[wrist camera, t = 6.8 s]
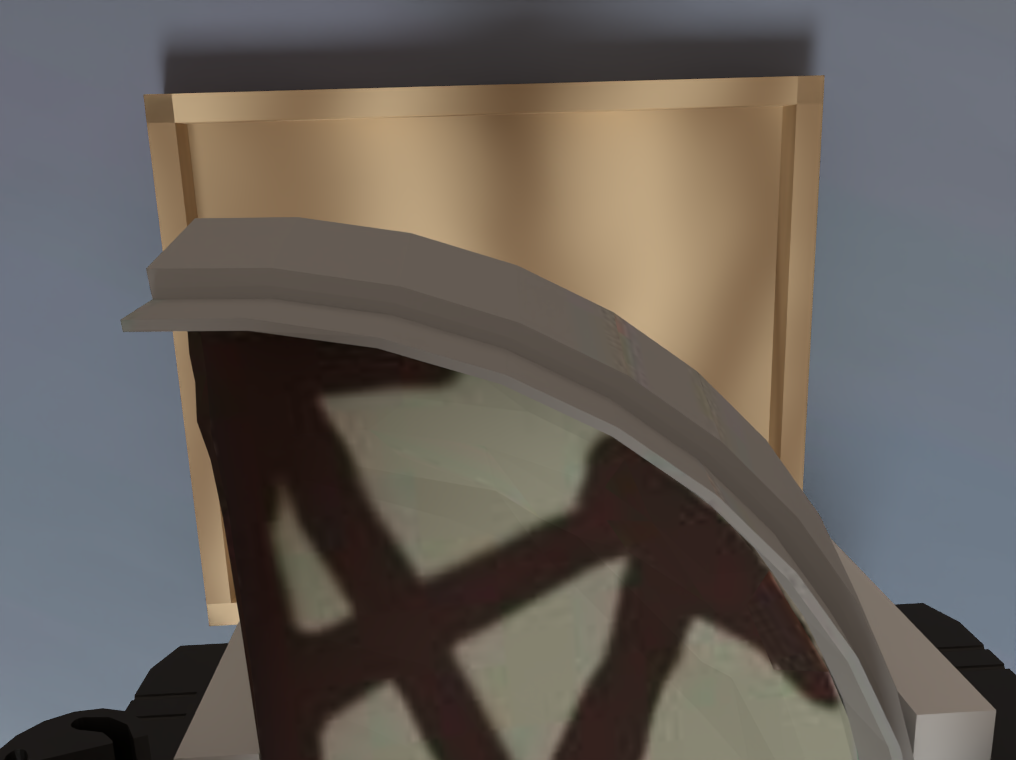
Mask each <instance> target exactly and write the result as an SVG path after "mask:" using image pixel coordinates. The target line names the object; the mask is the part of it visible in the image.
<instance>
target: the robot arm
mask: <svg viewBox="0 0 1016 760" xmlns="http://www.w3.org/2000/svg"><path fill="white" fill-rule="evenodd" d="M830 539H831V538H830ZM831 541H832V543H833V545H834V547H835V549H836V551H837V553H838V556H839V558H840V560H841V562H842V564H843V566H844V568H845V571H846V573H847V575H848V577H849V579H850V581H851V583H852V585H853V588H854V590H855V592H856V594H857V596H858V599H859V601H860V603H861V606H862V608H863V610H864V613H865V615H866V618H867V620H868V622H869V625H870V627H871V629H872V632H873V634H874V636H875V639H876V641H877V644H878V646H879V648H880V651H881V653H882V655H883V658H884V660H885V662H886V665H887V667H888V670H889V672H890V674H891V677H892V679H893V681H894V684H895V686H896V689H897V693H898V697H899V701H900V705H901V709H902V713H903V717H904V721H905V725H906V729H907V733H908V737H909V741H910V745H911V749H912V753H913V757H914V760H1016V675H1015V674H1014V673H1013V672H1012V671H1011V670H1010V669H1005V667H1004V663H1003V662H1001V661H1000V660H999V659H998V658H997V657H996V656H995V655H994V654H993V653H992V652H991V651H990V650H989V649H986V650H985V649H984V645H983V644H982V643H981V642H980V641H979V640H978V639H977V638H976V637H975V636H974V635H973V634H972V633H971V632H969V631H968V630H967V629H966V628H965V627H964V626H963V625H962V624H961V623H960V622H958V621H956V620H955V619H953V618H951V617H949V616H947V615H945V614H943V613H941V612H939V611H937V610H935V609H933V608H931V607H930V606H928V605H926V604H924V603H916V604H898V605H894V604H893V603H892V602H891V601H890V600H889V599H888V597H887V596H886V595H885V594H884V593H883V592H882V591H881V590H880V589H879V588H878V587H877V586H876V585H875V584H874V583H873V582H872V581H871V580H870V579H869V578H868V577H867V576H866V575H865V574H864V573H863V572H862V571H861V570H860V568H859V567H858V566H857V565H856V564H855V563H854V562H853V561H852V560H851V559H850V558H849V557H848V556H847V555H846V554H845V553H844V552H843V551H842V550H841V549H840V548H839V547H838V546H837V545H836V544H835V543H834V542H833V540H832V539H831ZM0 760H261V757H260V750H259V744H258V737H257V730H256V724H255V717H254V710H253V704H252V697H251V691H250V684H249V677H248V671H247V664H246V657H245V651H244V644H243V638H242V632H241V626H240V620H239V623H238V625H237V627H236V629H235V631H234V633H233V635H232V637H231V639H230V641H229V643H224V644H205V645H187V646H180V647H178V648H177V649H176V650H174V651H173V652H172V653H171V654H169V655H168V656H167V657H165V658H164V659H163V660H162V661H160V662H159V663H158V664H156V665H155V666H154V667H153V668H151V669H150V671H149V672H148V674H147V676H146V677H145V679H144V681H143V682H142V684H141V686H140V687H139V689H138V691H137V692H136V694H135V699H134V700H132V701H131V702H130V704H129V706H128V707H127V709H126V710H125V711H120V710H112V709H104V708H102V709H94V710H85V711H77V712H72V713H69V714H66V715H62V716H59V717H56V718H53V719H50V720H46V721H44V722H42V723H40V724H38V725H36V726H34V727H32V728H30V729H28V730H26V731H24V732H22V733H21V734H19V735H17V736H15V737H14V738H13V739H12V740H10V741H9V742H8V743H7V744H6V745H4V746H3V747H2V748H1V749H0Z"/></svg>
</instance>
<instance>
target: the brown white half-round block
mask: <svg viewBox="0 0 1016 760" xmlns="http://www.w3.org/2000/svg"><path fill="white" fill-rule="evenodd" d="M146 270H147V275H148V280H149V284H150V289H151V294H152V298H153V300H151V301H149V302H148V303H146V304H145V305H143V306H142V307H140V308H138V309H137V310H135V311H134V312H132V313H130V314H129V315H127V316H126V317H124V318H123V319H121V325H122V330H123V332H152V331H187V332H188V345H189V355H190V360H191V365H192V370H193V375H194V379H195V392H196V414H197V423H198V426H199V429H200V432H201V435H202V437H203V440H204V443H205V446H206V449H207V451H208V454H209V457H210V460H211V465H212V469H213V474H214V479H215V483H216V488H217V493H218V497H219V502H220V507H221V511H222V516H223V522H224V528H225V534H226V540H227V546H228V552H229V558H230V564H231V571H232V577H233V583H234V589H235V595H236V601H237V607H238V613H239V619H240V626H241V632H242V638H243V644H244V651H245V657H246V664H247V671H248V677H249V684H250V691H251V697H252V704H253V710H254V717H255V724H256V730H257V737H258V744H259V750H260V757H261V760H914V757H913V753H912V749H911V745H910V741H909V737H908V733H907V729H906V725H905V721H904V717H903V713H902V709H901V705H900V701H899V697H898V693H897V689H896V686H895V684H894V681H893V679H892V677H891V674H890V672H889V670H888V667H887V665H886V662H885V660H884V658H883V655H882V653H881V651H880V648H879V646H878V644H877V641H876V639H875V636H874V634H873V632H872V629H871V627H870V625H869V622H868V620H867V618H866V615H865V613H864V610H863V608H862V606H861V603H860V601H859V599H858V596H857V594H856V592H855V590H854V588H853V585H852V583H851V581H850V579H849V577H848V575H847V573H846V571H845V568H844V566H843V564H842V562H841V560H840V558H839V556H838V553H837V551H836V549H835V547H834V545H833V543H832V541H831V539H830V536H829V534H828V532H827V530H826V528H825V526H824V524H823V522H822V519H821V517H820V515H819V514H818V512H817V511H816V509H815V508H814V507H813V505H812V504H811V502H810V501H809V500H808V498H807V497H806V495H805V494H804V493H803V491H802V490H801V488H800V487H799V485H798V484H797V483H796V481H795V480H794V478H793V477H792V476H791V474H790V473H789V471H788V470H787V469H786V467H785V466H784V464H783V463H782V462H781V460H780V459H779V457H778V456H777V454H776V453H775V452H774V450H773V449H772V447H771V446H770V445H769V443H768V442H767V440H766V439H765V438H764V437H763V436H762V435H761V434H760V433H759V432H758V431H757V430H756V429H755V428H754V427H753V426H752V425H751V424H750V423H749V422H748V421H747V420H746V419H745V418H744V417H743V416H742V415H741V414H740V413H739V412H738V411H737V410H736V409H735V408H734V407H733V406H732V405H731V404H730V403H729V402H728V401H727V400H726V399H725V398H724V397H723V396H722V395H721V394H720V393H718V392H717V391H716V390H715V389H714V388H713V387H712V386H711V385H710V384H709V383H708V382H707V381H706V380H705V379H704V378H703V377H702V376H701V375H700V374H699V373H698V372H697V371H696V370H695V369H693V368H692V367H690V366H689V365H688V364H686V363H685V362H683V361H682V360H680V359H679V358H678V357H676V356H675V355H673V354H672V353H671V352H669V351H668V350H666V349H665V348H663V347H662V346H661V345H659V344H658V343H656V342H655V341H654V340H652V339H651V338H649V337H648V336H646V335H645V334H644V333H642V332H641V331H639V330H638V329H637V328H635V327H634V326H632V325H631V324H629V323H628V322H627V321H625V320H624V319H622V318H621V317H620V316H618V315H617V314H615V313H614V312H612V311H610V310H608V309H606V308H604V307H602V306H600V305H598V304H596V303H594V302H592V301H589V300H587V299H585V298H583V297H581V296H579V295H577V294H575V293H573V292H571V291H569V290H567V289H565V288H563V287H561V286H559V285H557V284H555V283H552V282H550V281H548V280H546V279H544V278H542V277H540V276H538V275H536V274H534V273H532V272H530V271H528V270H526V269H524V268H522V267H520V266H518V265H515V264H511V263H508V262H505V261H501V260H498V259H495V258H492V257H488V256H485V255H482V254H478V253H475V252H472V251H469V250H465V249H462V248H459V247H455V246H452V245H449V244H446V243H442V242H439V241H436V240H432V239H429V238H426V237H423V236H419V235H416V234H413V233H408V232H400V231H393V230H386V229H379V228H372V227H365V226H358V225H351V224H344V223H337V222H329V221H322V220H315V219H308V218H301V217H263V218H195V219H194V220H193V221H192V222H191V223H190V224H189V225H188V226H187V227H186V228H185V229H184V230H183V231H182V232H181V233H180V234H179V235H178V236H177V237H176V239H175V240H174V241H173V242H172V243H171V244H170V245H169V246H168V247H167V248H166V249H165V250H164V251H163V252H162V253H161V254H160V255H159V256H158V257H157V258H156V259H155V260H154V261H153V262H152V263H151V264H150V265H149V266H148V267H147V269H146Z"/></svg>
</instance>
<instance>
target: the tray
mask: <svg viewBox="0 0 1016 760" xmlns="http://www.w3.org/2000/svg"><path fill="white" fill-rule="evenodd" d="M823 94H824V75H821V76H785V77H750V78H714V79H679V80H643V81H608V82H572V83H537V84H501V85H466V86H430V87H395V88H359V89H324V90H288V91H253V92H217V93H182V94H146V95H144V103H145V111H146V119H147V127H148V136H149V144H150V152H151V160H152V168H153V176H154V184H155V192H156V200H157V208H158V216H159V224H160V232H161V240H162V248H163V251H164V250H165V249H166V248H167V247H168V246H169V245H170V244H171V243H172V242H173V241H174V240H175V239H176V237H177V236H178V235H179V234H180V233H181V232H182V231H183V230H184V229H185V228H186V227H187V226H188V225H189V224H190V223H191V222H192V221H193V220H194V219H195V218H263V217H301V218H308V219H315V220H322V221H329V222H337V223H344V224H351V225H358V226H365V227H372V228H379V229H386V230H393V231H400V232H408V233H413V234H416V235H419V236H423V237H426V238H429V239H432V240H436V241H439V242H442V243H446V244H449V245H452V246H455V247H459V248H462V249H465V250H469V251H472V252H475V253H478V254H482V255H485V256H488V257H492V258H495V259H498V260H501V261H505V262H508V263H511V264H515V265H518V266H520V267H522V268H524V269H526V270H528V271H530V272H532V273H534V274H536V275H538V276H540V277H542V278H544V279H546V280H548V281H550V282H552V283H555V284H557V285H559V286H561V287H563V288H565V289H567V290H569V291H571V292H573V293H575V294H577V295H579V296H581V297H583V298H585V299H587V300H589V301H592V302H594V303H596V304H598V305H600V306H602V307H604V308H606V309H608V310H610V311H612V312H614V313H615V314H617V315H618V316H620V317H621V318H622V319H624V320H625V321H627V322H628V323H629V324H631V325H632V326H634V327H635V328H637V329H638V330H639V331H641V332H642V333H644V334H645V335H646V336H648V337H649V338H651V339H652V340H654V341H655V342H656V343H658V344H659V345H661V346H662V347H663V348H665V349H666V350H668V351H669V352H671V353H672V354H673V355H675V356H676V357H678V358H679V359H680V360H682V361H683V362H685V363H686V364H688V365H689V366H690V367H692V368H693V369H695V370H696V371H697V372H698V373H699V374H700V375H701V376H702V377H703V378H704V379H705V380H706V381H707V382H708V383H709V384H710V385H711V386H712V387H713V388H714V389H715V390H716V391H717V392H718V393H720V394H721V395H722V396H723V397H724V398H725V399H726V400H727V401H728V402H729V403H730V404H731V405H732V406H733V407H734V408H735V409H736V410H737V411H738V412H739V413H740V414H741V415H742V416H743V417H744V418H745V419H746V420H747V421H748V422H749V423H750V424H751V425H752V426H753V427H754V428H755V429H756V430H757V431H758V432H759V433H760V434H761V435H762V436H763V437H764V438H765V439H766V440H767V442H768V443H769V445H770V446H771V447H772V449H773V450H774V452H775V453H776V454H777V456H778V457H779V459H780V460H781V462H782V463H783V464H784V466H785V467H786V469H787V470H788V471H789V473H790V474H791V476H792V477H793V478H794V480H795V481H796V483H797V484H798V485H799V487H800V488H801V490H802V491H803V472H804V453H805V434H806V415H807V396H808V377H809V359H810V340H811V321H812V302H813V283H814V264H815V245H816V226H817V207H818V188H819V169H820V150H821V132H822V113H823ZM173 337H174V345H175V353H176V361H177V369H178V377H179V385H180V393H181V401H182V409H183V417H184V425H185V433H186V442H187V450H188V458H189V466H190V474H191V482H192V490H193V498H194V506H195V514H196V522H197V530H198V538H199V546H200V554H201V562H202V570H203V578H204V586H205V595H206V603H207V611H208V619H209V626H219V625H238V623H239V620H240V619H239V613H238V607H237V601H236V595H235V589H234V583H233V577H232V571H231V564H230V558H229V552H228V546H227V540H226V534H225V528H224V522H223V516H222V511H221V507H220V502H219V497H218V493H217V488H216V483H215V479H214V474H213V469H212V465H211V460H210V457H209V454H208V451H207V449H206V446H205V443H204V440H203V437H202V435H201V432H200V429H199V426H198V423H197V414H196V392H195V379H194V375H193V370H192V365H191V360H190V355H189V345H188V332H187V331H173Z"/></svg>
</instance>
